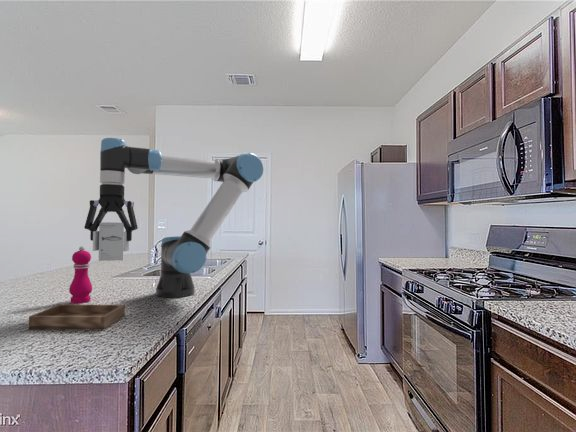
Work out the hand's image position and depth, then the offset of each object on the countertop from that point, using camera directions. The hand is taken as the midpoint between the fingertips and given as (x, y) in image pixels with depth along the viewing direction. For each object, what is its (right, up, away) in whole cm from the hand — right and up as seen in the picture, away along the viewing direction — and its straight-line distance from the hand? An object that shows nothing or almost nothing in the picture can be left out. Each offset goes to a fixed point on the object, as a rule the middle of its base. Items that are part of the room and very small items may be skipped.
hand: (110, 250), depth 123 cm
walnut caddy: (-1, -19, -17) cm, 26 cm away
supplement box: (0, -3, 0) cm, 3 cm away
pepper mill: (-15, -19, +8) cm, 26 cm away
